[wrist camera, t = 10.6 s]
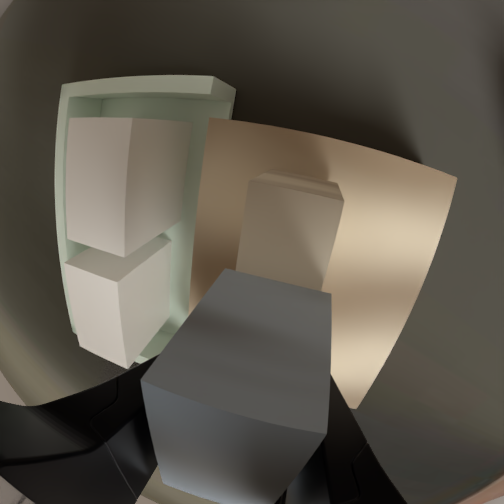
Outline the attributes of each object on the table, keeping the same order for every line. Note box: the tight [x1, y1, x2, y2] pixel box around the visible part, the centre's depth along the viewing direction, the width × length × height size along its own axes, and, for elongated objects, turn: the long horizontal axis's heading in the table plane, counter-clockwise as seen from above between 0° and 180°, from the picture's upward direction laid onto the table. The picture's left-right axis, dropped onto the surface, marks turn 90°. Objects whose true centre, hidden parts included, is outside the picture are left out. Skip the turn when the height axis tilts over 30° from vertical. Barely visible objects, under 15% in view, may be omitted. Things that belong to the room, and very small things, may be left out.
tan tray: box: [188, 117, 457, 409], centre depth 14 cm, size 13×10×4 cm
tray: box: [55, 75, 236, 364], centre depth 16 cm, size 17×9×4 cm, turn 171°
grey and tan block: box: [141, 169, 345, 504], centre depth 9 cm, size 10×3×8 cm, turn 171°
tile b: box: [66, 117, 193, 258], centre depth 13 cm, size 6×6×4 cm
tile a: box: [64, 237, 172, 369], centre depth 16 cm, size 6×6×4 cm
